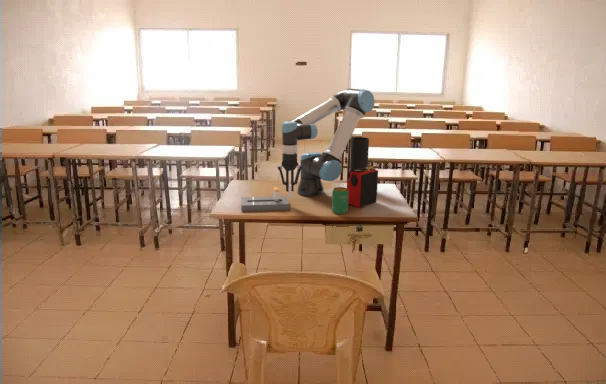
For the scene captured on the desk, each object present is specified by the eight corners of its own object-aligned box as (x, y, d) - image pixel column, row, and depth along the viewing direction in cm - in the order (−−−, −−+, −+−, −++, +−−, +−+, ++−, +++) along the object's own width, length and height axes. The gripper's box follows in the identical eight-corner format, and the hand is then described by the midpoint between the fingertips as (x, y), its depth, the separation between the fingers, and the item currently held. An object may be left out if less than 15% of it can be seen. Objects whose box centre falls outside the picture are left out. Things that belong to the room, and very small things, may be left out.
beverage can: (342, 208, 234) (343, 186, 231) (350, 213, 228) (351, 190, 224) (328, 210, 231) (329, 187, 228) (337, 215, 224) (337, 192, 221)
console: (286, 201, 245) (286, 195, 245) (289, 209, 232) (289, 203, 231) (241, 202, 243) (241, 197, 242) (241, 211, 229) (241, 205, 228)
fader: (278, 203, 240) (278, 187, 238) (278, 206, 236) (278, 189, 233) (274, 203, 240) (273, 187, 238) (274, 206, 235) (274, 190, 233)
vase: (367, 191, 266) (370, 140, 257) (350, 191, 266) (352, 140, 257) (365, 186, 276) (367, 137, 267) (348, 186, 275) (350, 137, 267)
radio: (362, 198, 252) (364, 162, 247) (377, 202, 245) (379, 166, 240) (344, 204, 241) (345, 167, 236) (359, 208, 235) (360, 170, 229)
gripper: (301, 151, 235) (301, 195, 242) (276, 151, 234) (276, 195, 240) (303, 153, 228) (303, 199, 235) (277, 154, 227) (277, 199, 233)
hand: (289, 197), depth 238 cm, fingers closed
